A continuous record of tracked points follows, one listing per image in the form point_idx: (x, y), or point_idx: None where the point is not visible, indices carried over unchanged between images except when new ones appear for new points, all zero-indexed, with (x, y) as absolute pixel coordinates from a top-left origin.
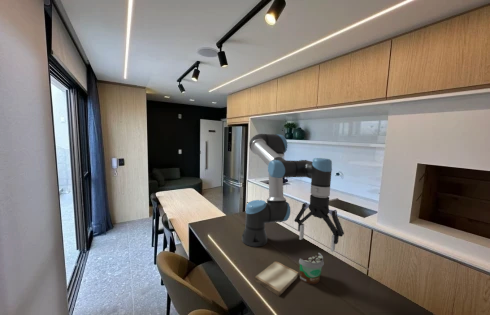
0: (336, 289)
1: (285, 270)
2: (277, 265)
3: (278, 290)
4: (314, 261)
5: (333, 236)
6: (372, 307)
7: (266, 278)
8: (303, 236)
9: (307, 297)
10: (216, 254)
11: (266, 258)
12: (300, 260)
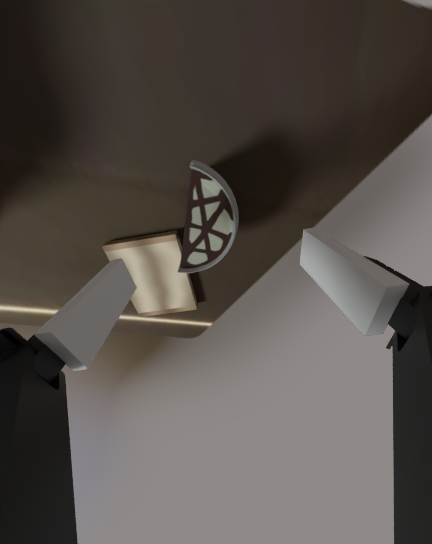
0: (269, 189)
1: (151, 255)
2: (123, 256)
3: (193, 307)
4: (213, 235)
5: (376, 332)
6: (358, 174)
7: (154, 304)
8: (118, 263)
9: (232, 268)
10: (25, 321)
11: (70, 241)
12: (183, 271)
